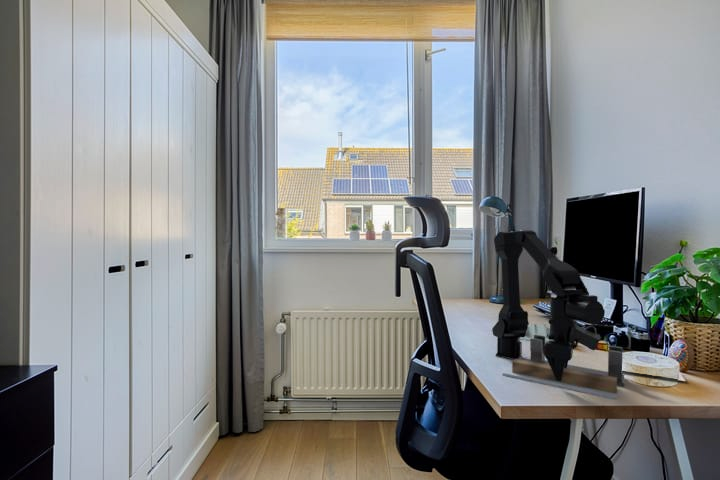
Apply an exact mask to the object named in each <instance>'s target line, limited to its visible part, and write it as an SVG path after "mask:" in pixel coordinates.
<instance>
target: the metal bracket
mask: <svg viewBox="0 0 720 480" xmlns="http://www.w3.org/2000/svg"><path fill="white" fill-rule="evenodd" d="M549 334H550V325H549V324H548V325H546V323H545V322H542V324H535V322H534V321H532V324H531V323H529V324H528V328H527V331H526V334H525V337H520V341H524V340H525V341H529V342H530V339H531V338H533V339H534V335H541V336H545V343H546V342H548V341H549V339H548V335H549ZM551 341H554V340H551Z"/></svg>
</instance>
